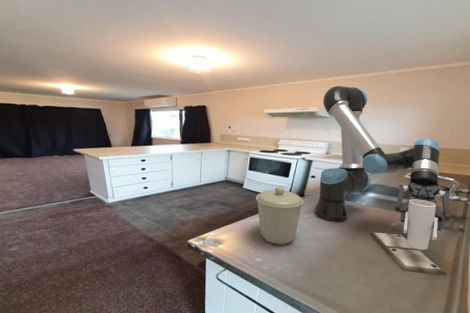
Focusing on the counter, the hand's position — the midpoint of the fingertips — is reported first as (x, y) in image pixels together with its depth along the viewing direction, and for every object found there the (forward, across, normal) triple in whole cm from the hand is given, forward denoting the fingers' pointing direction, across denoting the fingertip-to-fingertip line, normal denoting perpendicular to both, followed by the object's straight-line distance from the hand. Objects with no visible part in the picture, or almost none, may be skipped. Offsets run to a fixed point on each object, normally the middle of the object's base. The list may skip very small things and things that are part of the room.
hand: (419, 234), depth 68 cm
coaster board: (+2, +4, -14) cm, 15 cm away
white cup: (+1, 0, -7) cm, 7 cm away
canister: (+16, +43, +1) cm, 46 cm away
